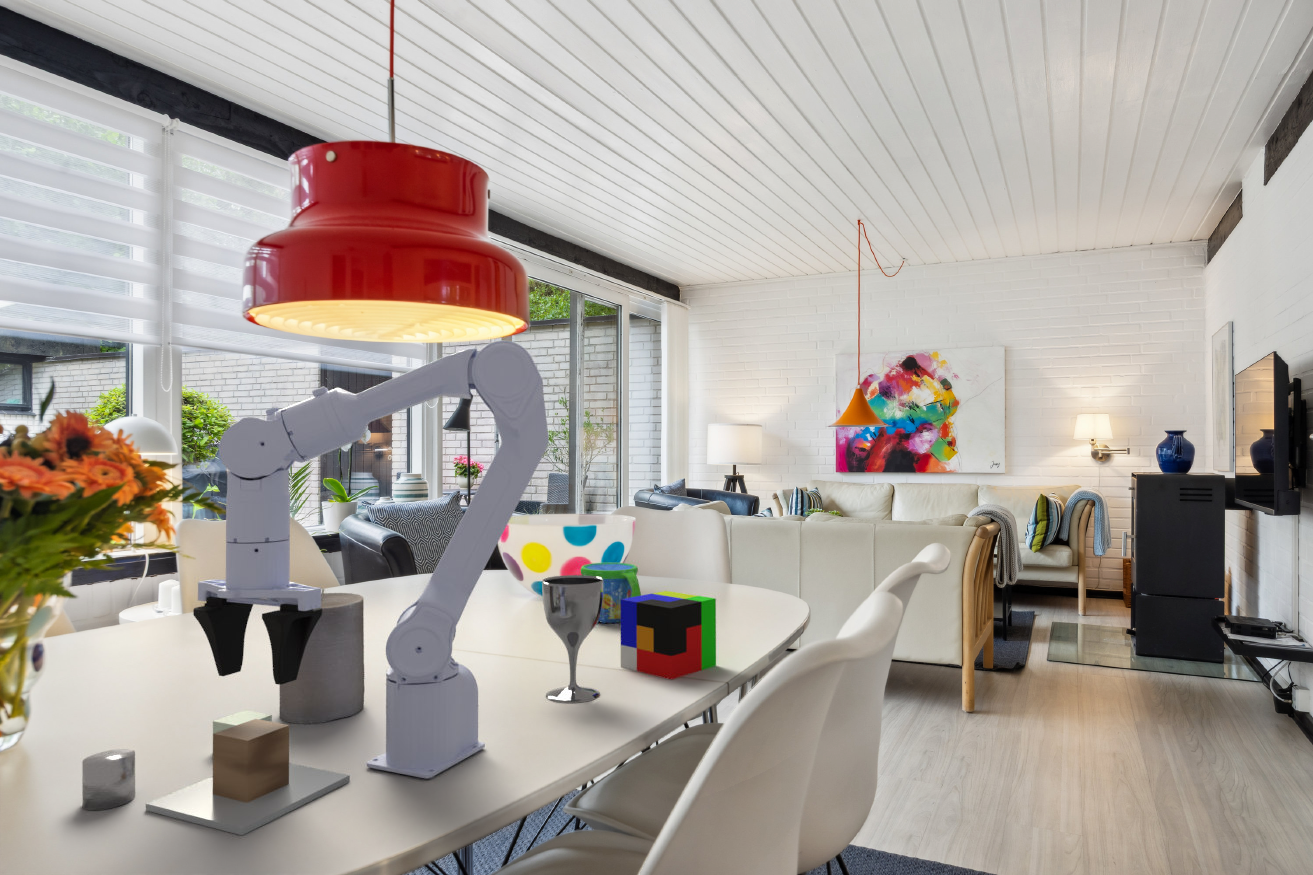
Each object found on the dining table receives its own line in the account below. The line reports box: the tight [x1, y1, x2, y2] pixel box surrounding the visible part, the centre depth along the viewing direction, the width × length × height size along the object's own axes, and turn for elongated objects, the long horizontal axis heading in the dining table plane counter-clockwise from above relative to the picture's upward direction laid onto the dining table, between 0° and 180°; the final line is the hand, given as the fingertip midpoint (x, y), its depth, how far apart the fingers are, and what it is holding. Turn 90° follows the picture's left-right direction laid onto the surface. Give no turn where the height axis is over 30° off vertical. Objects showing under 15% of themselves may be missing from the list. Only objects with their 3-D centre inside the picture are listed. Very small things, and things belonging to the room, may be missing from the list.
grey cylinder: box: [81, 748, 136, 811], centre depth 74 cm, size 4×4×4 cm
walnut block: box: [212, 719, 290, 803], centre depth 75 cm, size 4×4×6 cm
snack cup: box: [580, 562, 642, 624], centre depth 154 cm, size 16×10×10 cm
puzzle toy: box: [620, 590, 717, 680], centre depth 121 cm, size 10×10×10 cm
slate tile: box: [145, 762, 351, 836], centre depth 75 cm, size 12×12×1 cm
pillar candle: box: [279, 588, 365, 725], centre depth 100 cm, size 10×10×15 cm
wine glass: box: [541, 574, 603, 704], centre depth 107 cm, size 8×8×15 cm
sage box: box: [212, 709, 273, 734], centre depth 87 cm, size 4×4×4 cm
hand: (257, 677), depth 81 cm, fingers open, 7 cm apart
